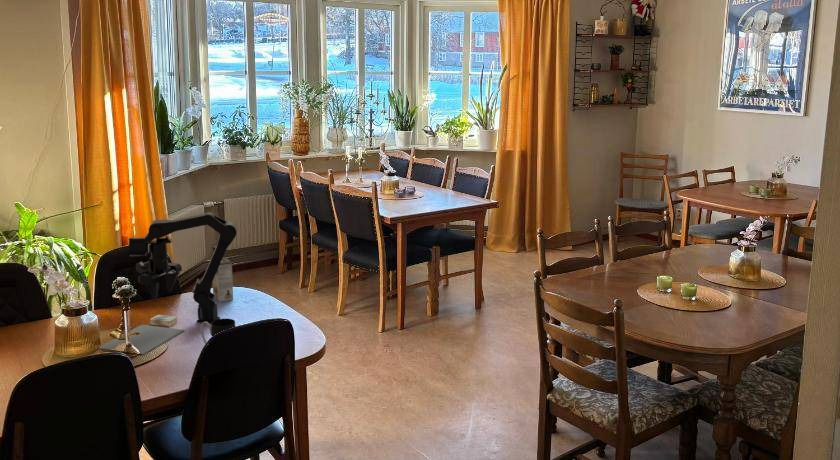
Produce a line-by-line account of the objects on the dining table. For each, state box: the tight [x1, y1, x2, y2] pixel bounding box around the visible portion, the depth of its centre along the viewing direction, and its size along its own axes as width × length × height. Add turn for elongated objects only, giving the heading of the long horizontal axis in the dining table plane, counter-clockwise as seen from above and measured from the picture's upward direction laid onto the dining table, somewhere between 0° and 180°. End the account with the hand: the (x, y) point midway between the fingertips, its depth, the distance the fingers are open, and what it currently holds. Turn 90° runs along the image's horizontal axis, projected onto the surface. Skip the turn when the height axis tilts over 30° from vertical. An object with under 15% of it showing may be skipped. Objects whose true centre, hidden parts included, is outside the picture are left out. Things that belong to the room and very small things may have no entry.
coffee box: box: [212, 256, 234, 302], centre depth 319 cm, size 9×6×16 cm
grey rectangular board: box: [98, 324, 185, 356], centre depth 274 cm, size 18×24×1 cm
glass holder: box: [199, 318, 236, 345], centre depth 252 cm, size 9×14×15 cm, turn 61°
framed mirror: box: [149, 314, 178, 328], centre depth 291 cm, size 8×5×3 cm, turn 75°
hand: (162, 295), depth 288 cm, fingers open, 9 cm apart
